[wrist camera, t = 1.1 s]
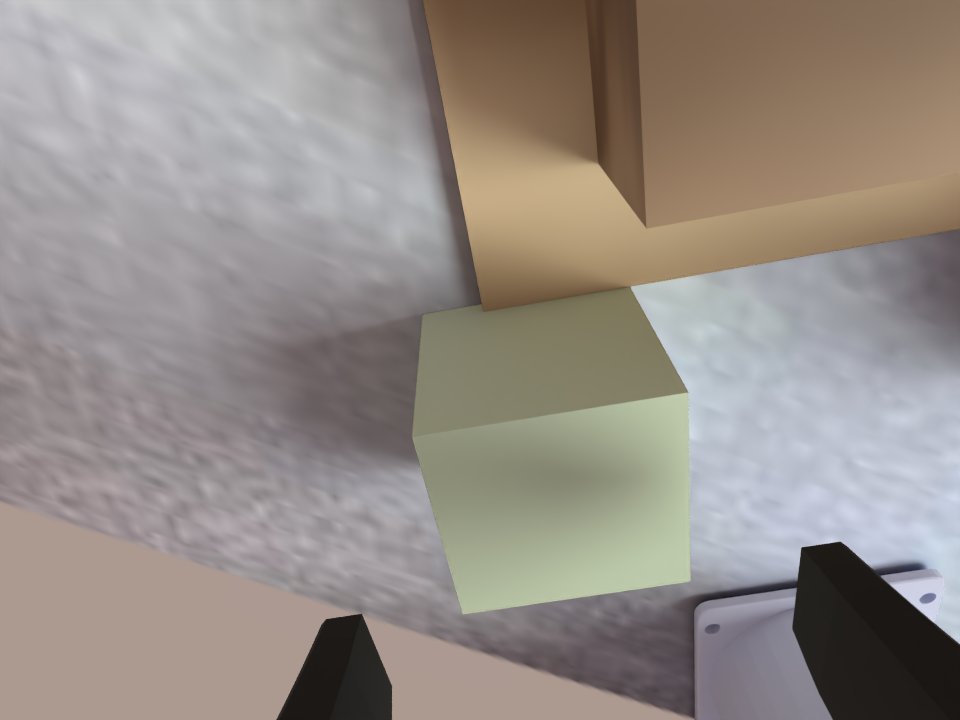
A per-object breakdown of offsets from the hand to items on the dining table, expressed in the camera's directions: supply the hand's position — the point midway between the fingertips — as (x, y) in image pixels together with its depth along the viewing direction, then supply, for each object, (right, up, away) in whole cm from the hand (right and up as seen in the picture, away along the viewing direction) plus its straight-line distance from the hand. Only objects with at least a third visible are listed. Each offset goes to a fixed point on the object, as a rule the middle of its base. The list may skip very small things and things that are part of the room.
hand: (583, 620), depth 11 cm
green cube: (0, +4, +6) cm, 8 cm away
